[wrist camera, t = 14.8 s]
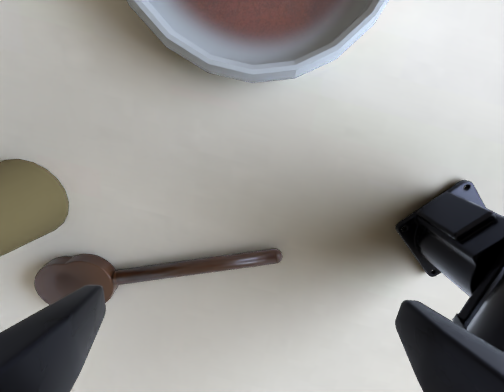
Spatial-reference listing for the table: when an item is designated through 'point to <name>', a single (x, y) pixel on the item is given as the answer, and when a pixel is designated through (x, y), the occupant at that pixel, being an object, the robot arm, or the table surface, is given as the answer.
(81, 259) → the wooden spoon
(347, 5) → the frying pan
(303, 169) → the table surface
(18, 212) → the olive pawn
